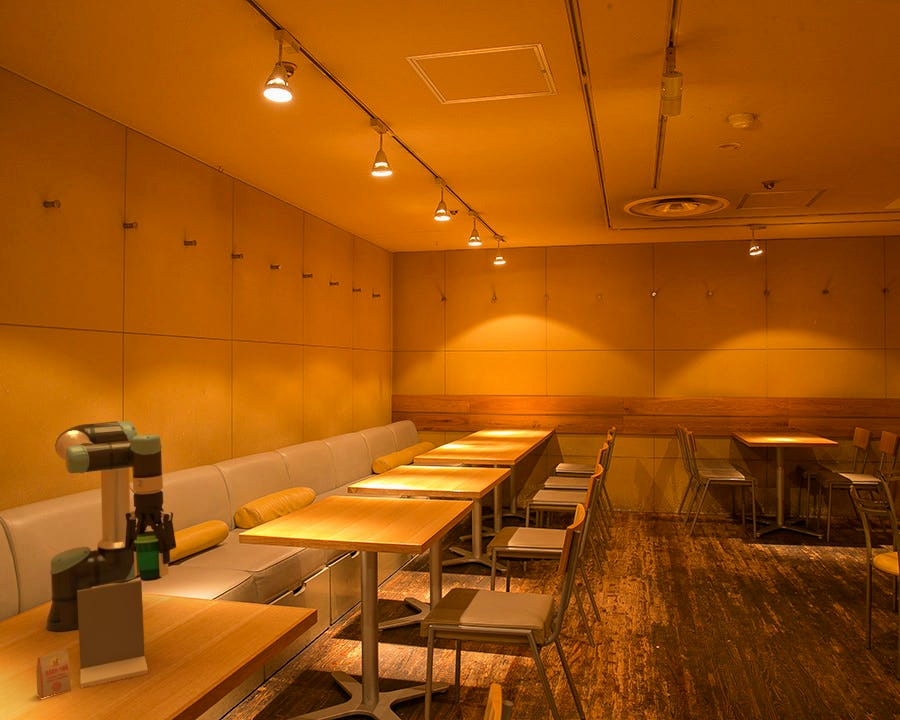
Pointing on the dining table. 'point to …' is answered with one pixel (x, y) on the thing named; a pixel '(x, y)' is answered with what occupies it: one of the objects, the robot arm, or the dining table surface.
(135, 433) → the robot arm
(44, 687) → the tea bag
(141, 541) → the cup
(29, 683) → the dining table surface
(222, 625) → the dining table surface
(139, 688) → the dining table surface
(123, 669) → the stand
